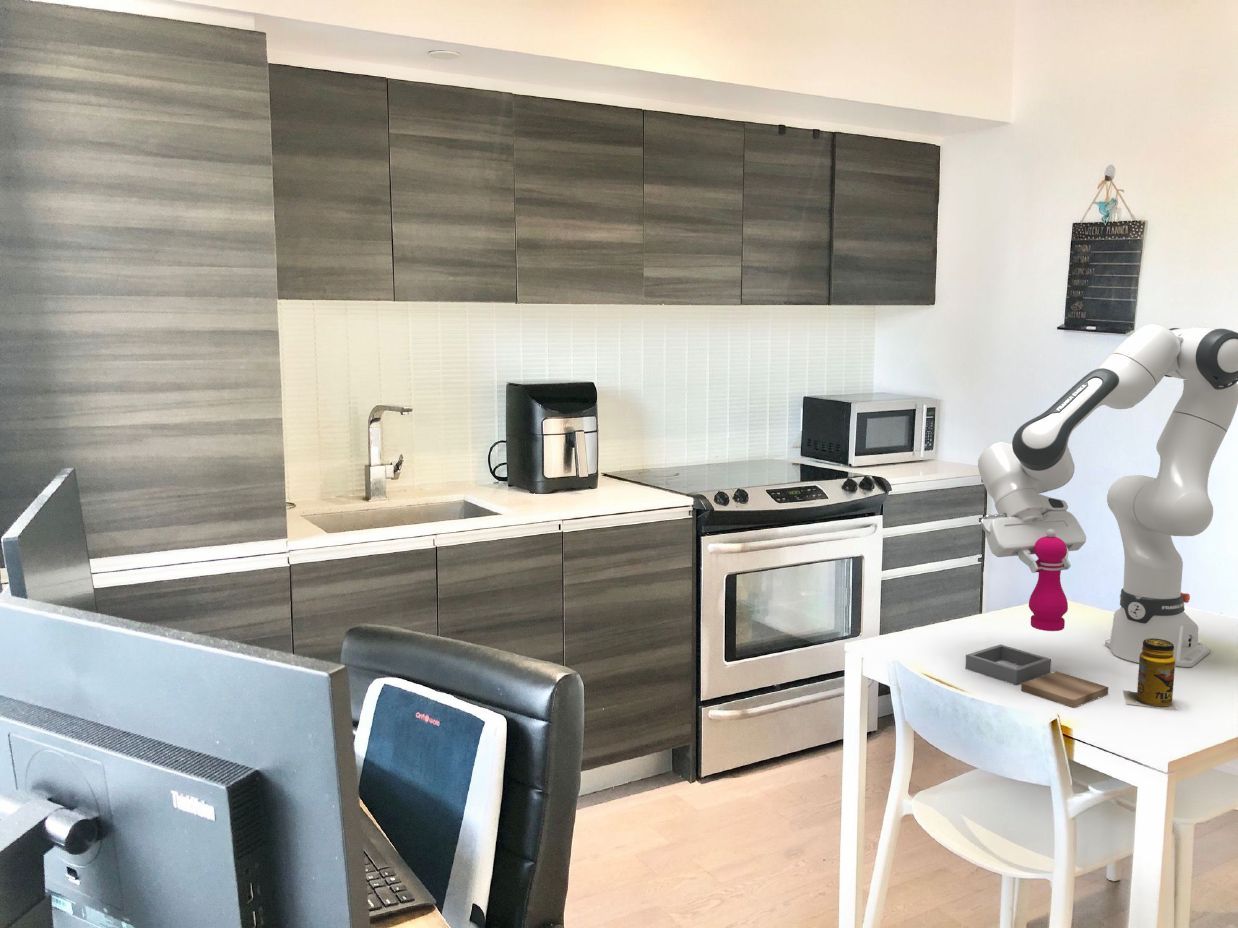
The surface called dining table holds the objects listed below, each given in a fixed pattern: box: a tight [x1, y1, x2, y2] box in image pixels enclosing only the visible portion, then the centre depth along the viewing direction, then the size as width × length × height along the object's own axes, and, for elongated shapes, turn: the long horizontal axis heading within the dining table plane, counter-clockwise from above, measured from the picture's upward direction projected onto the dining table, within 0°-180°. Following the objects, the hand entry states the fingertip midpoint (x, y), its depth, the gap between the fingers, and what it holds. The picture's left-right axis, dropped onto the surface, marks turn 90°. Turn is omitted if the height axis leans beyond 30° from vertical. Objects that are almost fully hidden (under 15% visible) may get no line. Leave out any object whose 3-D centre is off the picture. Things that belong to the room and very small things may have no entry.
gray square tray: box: [965, 644, 1052, 686], centre depth 209 cm, size 12×12×3 cm
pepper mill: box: [1028, 529, 1069, 632], centre depth 198 cm, size 7×7×20 cm
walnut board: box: [1020, 671, 1109, 709], centre depth 197 cm, size 12×11×2 cm
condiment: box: [1122, 638, 1177, 711], centre depth 191 cm, size 7×8×12 cm
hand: (1051, 569), depth 197 cm, fingers closed on pepper mill, 5 cm apart
